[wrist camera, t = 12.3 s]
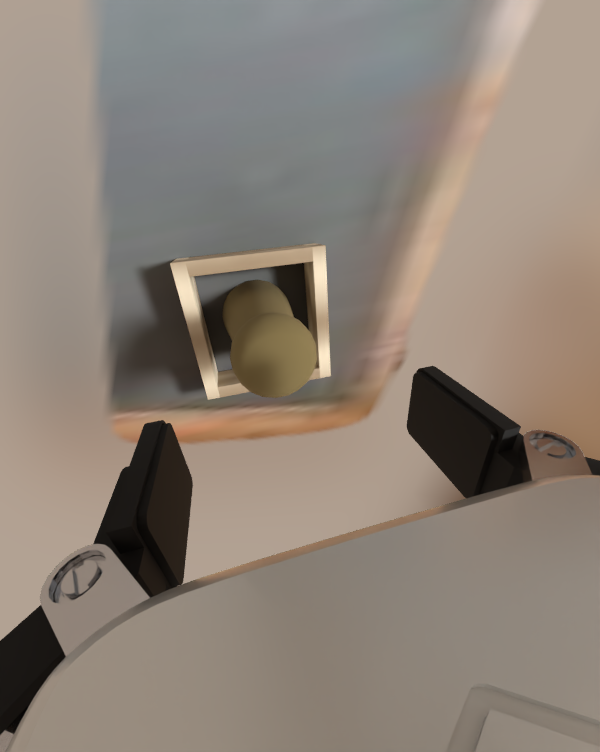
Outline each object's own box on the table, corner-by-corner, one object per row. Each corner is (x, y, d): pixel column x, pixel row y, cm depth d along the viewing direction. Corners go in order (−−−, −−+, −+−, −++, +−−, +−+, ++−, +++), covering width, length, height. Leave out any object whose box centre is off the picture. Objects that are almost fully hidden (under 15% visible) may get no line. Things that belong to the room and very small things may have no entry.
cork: (214, 337, 26) (210, 402, 16) (233, 268, 23) (241, 298, 14) (278, 354, 28) (307, 421, 18) (301, 293, 26) (347, 333, 16)
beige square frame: (175, 258, 22) (169, 263, 20) (314, 243, 24) (325, 245, 21) (209, 383, 27) (208, 399, 25) (320, 362, 29) (330, 376, 27)
